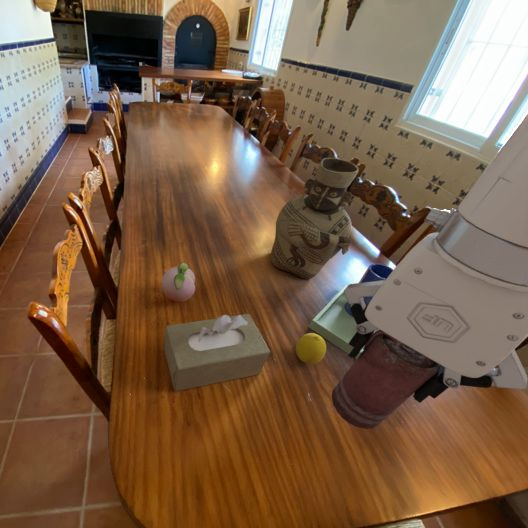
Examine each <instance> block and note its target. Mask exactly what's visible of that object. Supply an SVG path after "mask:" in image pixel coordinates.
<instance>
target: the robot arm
mask: <svg viewBox="0 0 528 528" xmlns="http://www.w3.org/2000/svg"><path fill="white" fill-rule="evenodd" d="M423 222H424V223H427V224H428V225H432V227H433V228H434V229H436V230H434V231H435V232H432V233H429V234H427V235H426V236H424V238H423V239H421V240H420V241H419V242H418V243H416V245H414V246H413V247H412V248H410V250H409V251H408V252H407V253H406V254H405V256H404V257H403V258H402V259H401V260H400V262H399V263H398V264H397V265H396V266H395V267H394V269H393V271H392V273H391V274H390V275H389V276H388V278H387V279H386V280H381V281H372V282H364V283H359V282H357V283H350V284H347V285H348V286H347V288H346V289H345V290H344V294H345V296H346V299H347V301H348V303H349V304H350V306H351V308H350V310H351V313H352V315H353V317H354V319H355V322H356V324H357V326H356V330H357V332H356V333H355V335H354V336H353V337H352V339H351V340H350V342H349V343H348V344H349V345H351V346H352V347H354V348H353V349H352V351H351V352H350V353H349V354H348V355H347V356H348V357H349V358H351V359H355V357H356V356H357V355H358V353H359V352H360V351H361V349H362V348H363V347H364V345H365V344H366V343H367V342H368V340H369V339H370V337H371V336H372V334H373V333H374V331H375V330H378V329H380V330H382V331H383V332H385V333H387V334H388V335H390V336H392V337H393V338H395V339H397V340H399V341H400V342H402V343H404V344H405V345H407V346H409V347H411V348H412V349H414V350H416V351H418V352H419V353H421V354H423V355H425V356H426V357H428V358H430V359H432V360H433V361H435V362H437V363H439V369H438V372H437V373H436V374H435V375H434V376H433V377H432V378H431V379H429V380H428V381H427V382H426V383H425V384H424V385H423V386H422V387H420V388H419V389H418V390H417V391H416V392H415V393H414V394H413V395H412V398H413V399H414V401H416V402H417V403H419V404H421V403H422V402H423V401H424V400H426V399H427V398H428V397H431V398H432V399H437V397H440V395H441V394H442V393H444V392H446V390H448V389H449V388H450V389H458V388H460V386H461V387H463V386H464V387H472V388H480V389H481V388H482V389H489V388H491V387H495V388H498V389H499V388H500V389H508V390H509V389H510V390H511V389H512V390H527V388H528V375H527V372H526V370H525V368H524V366H523V364H522V362H521V360H520V357H519V355H518V354H517V351H516V348H518V347H519V346H520V345H521V344H522V343H523V342H524V341H525V340H526V339H527V338H528V111H527V112H526V114H525V115H524V116H523V118H522V119H521V121H520V122H519V123H518V125H517V126H516V127H515V128H514V130H513V131H512V133H510V135H509V136H508V138H507V139H506V141H505V142H504V144H503V145H502V146H501V148H499V150H498V152H497V153H496V154H495V156H494V157H493V158H492V160H491V161H490V163H489V164H488V166H487V167H486V168H485V170H484V171H483V172H482V174H481V175H480V176H479V178H478V179H477V180H476V181H475V183H474V185H473V186H472V187H471V188H470V190H469V191H468V193H467V194H466V196H465V197H464V198H463V199H462V201H461V202H460V203H459V205H458V206H457V208H456V209H455V208H453V207H452V208H451V209H450V210H447V209H443V210H441V209H439V208H435V207H432V208H431V210H430V211H429V213H428V214H427V215H426V217H425V218H424V220H423ZM370 296H374V297H373V298H372V300H371V301H370V303H369V305H367V303H366V302H365V301H364V300H363V299H364V298H363V297H370ZM355 360H356V359H355Z"/></svg>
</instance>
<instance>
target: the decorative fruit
mask: <svg viewBox="0 0 528 528" xmlns="http://www.w3.org/2000/svg"><path fill="white" fill-rule="evenodd" d="M195 283H196V276H195V274H194V272H193V270H192V269H190V268H189V265H188V264H187V263H186V262H183V263H180V264H178V266H174V267H171V268H169V269H167V270H166V271H165V272H164V274H163V276H162V279H161V289H162V291H163V293H164V295H165V296H166V297H167V298H168V299H169V300H171V301H173V302H174V303H175V302H176V303H183V302H186V301H188V300H190V299H191V298H192V297H193V295H194V294H195V291H196V284H195Z"/></svg>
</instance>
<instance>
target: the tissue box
mask: <svg viewBox="0 0 528 528" xmlns="http://www.w3.org/2000/svg"><path fill="white" fill-rule="evenodd" d="M163 351H164V354H165V359H166V363H167V367H168V372H169V375H170V379H171V384H172V388H173V391H174V392H180V391H184V390H189V389H194V388H199V387H204V386H209V385H213V384H214V385H215V384H219V383H223V382H229V381H233V380H238V379H239V380H240V379H244V378H248V377H253V376H258V375H261V373H262V371H263V368H264V366H265V364H266V362H267V360H268V357H269V355H270V353H271V350H270V349H269V347H268V344H267V343H266V341H265V340H264V338H263V336H262V334H261V332H260V329H258V327H257V325H256V322H255V321H254V319H253V317H252V315H251V314H250V313H243V314H237V315H231V316H230V315H228V314H223V315H221V316H219V317H217V318H210V319H203V320H198V321H197V320H196V321H191V322H183V323H176V324H171V325H166V326H165V333H164V346H163Z"/></svg>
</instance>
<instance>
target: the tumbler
mask: <svg viewBox="0 0 528 528" xmlns="http://www.w3.org/2000/svg"><path fill="white" fill-rule="evenodd" d="M393 270H394V269H393V268H392V267H390V266H388V265H386V264H382V263H378V262H376V263H375V262H374V263H371V264H370V265H368V267H367V268H366V270H365V272H364V273H363V274H362V276H361V278H360V279H359V281H358V283H364V282H372V281H381V280H386V279H387V278H388V276H389V275H390V274H391V273H392V271H393ZM373 297H374V296H370V297H363V298H364V299H363V300H364V301H365V302H366V303H367V305H369V303H370V301H371V300H372V298H373ZM344 308H345V310H346V312H347V313H348V314H349V315H351V316H352V317H353V315H352V313H351V310H350V308H351V306H350V304H349V303H348V301H347V302H346V303H345V305H344Z"/></svg>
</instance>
